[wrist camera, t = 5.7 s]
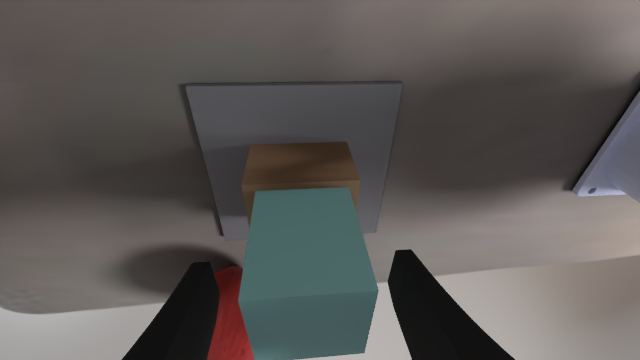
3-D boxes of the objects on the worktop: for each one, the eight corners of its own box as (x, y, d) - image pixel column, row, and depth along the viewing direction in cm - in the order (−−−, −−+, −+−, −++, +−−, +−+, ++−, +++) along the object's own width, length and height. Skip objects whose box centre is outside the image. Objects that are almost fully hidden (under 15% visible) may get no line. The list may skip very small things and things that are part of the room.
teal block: (343, 248, 15) (364, 352, 11) (264, 253, 14) (255, 362, 10) (349, 186, 12) (378, 290, 8) (255, 191, 12) (238, 301, 8)
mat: (400, 81, 14) (403, 83, 13) (374, 228, 20) (375, 232, 19) (187, 83, 13) (184, 86, 13) (226, 236, 19) (225, 240, 18)
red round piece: (280, 287, 23) (276, 412, 16) (207, 296, 22) (174, 425, 16) (267, 237, 19) (255, 370, 13) (181, 247, 19) (125, 387, 12)
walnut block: (346, 141, 15) (360, 180, 12) (341, 212, 18) (351, 256, 15) (250, 144, 14) (241, 185, 12) (261, 216, 17) (255, 262, 15)
